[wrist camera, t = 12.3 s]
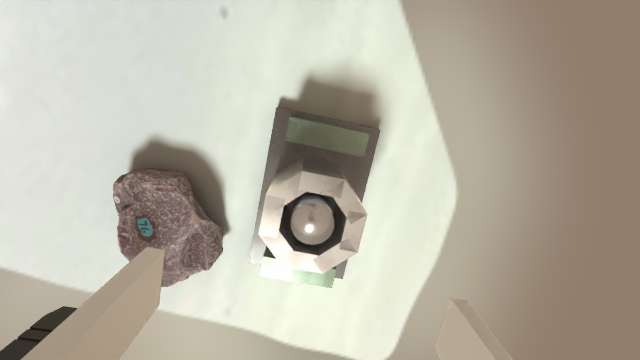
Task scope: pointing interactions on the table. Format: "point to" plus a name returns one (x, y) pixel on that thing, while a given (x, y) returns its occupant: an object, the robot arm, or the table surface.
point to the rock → (165, 222)
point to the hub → (278, 217)
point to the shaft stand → (310, 208)
